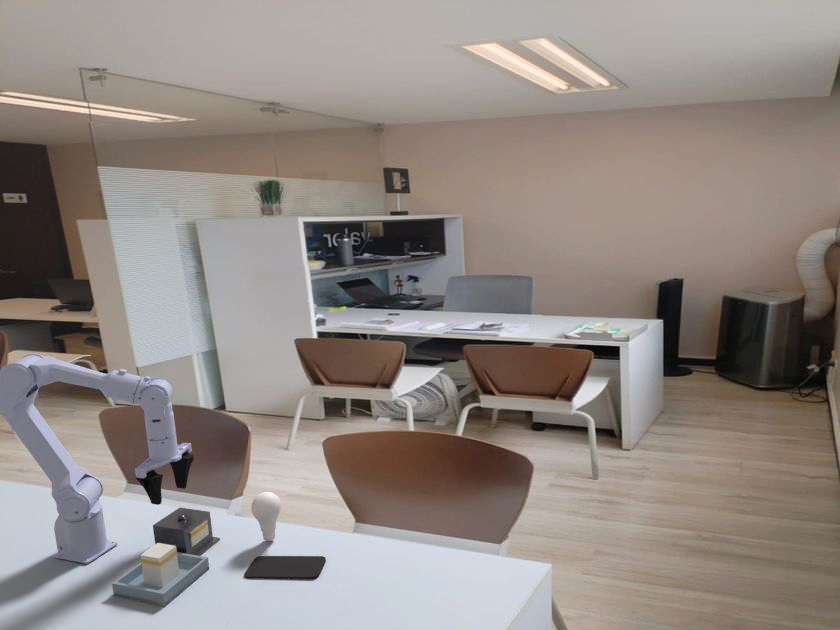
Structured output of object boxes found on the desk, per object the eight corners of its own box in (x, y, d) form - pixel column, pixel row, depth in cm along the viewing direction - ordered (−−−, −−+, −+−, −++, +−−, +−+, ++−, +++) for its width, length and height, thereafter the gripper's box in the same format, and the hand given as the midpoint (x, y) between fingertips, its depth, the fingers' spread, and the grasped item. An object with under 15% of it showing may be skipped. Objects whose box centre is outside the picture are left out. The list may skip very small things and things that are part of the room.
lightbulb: (276, 549, 128) (272, 500, 126) (250, 547, 129) (244, 499, 128) (288, 534, 134) (284, 487, 132) (263, 532, 135) (258, 486, 133)
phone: (256, 555, 126) (327, 555, 124) (256, 559, 126) (327, 559, 124) (241, 576, 118) (317, 577, 117) (242, 580, 119) (317, 581, 117)
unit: (149, 558, 127) (144, 524, 126) (183, 533, 137) (179, 502, 135) (188, 565, 124) (184, 530, 123) (220, 540, 133) (216, 507, 132)
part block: (143, 583, 117) (139, 555, 116) (161, 570, 122) (157, 542, 121) (163, 587, 116) (159, 558, 115) (180, 573, 120) (176, 545, 119)
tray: (113, 595, 115) (111, 583, 115) (160, 560, 126) (159, 548, 126) (165, 606, 111) (163, 594, 111) (209, 568, 122) (208, 557, 122)
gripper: (151, 450, 122) (159, 513, 124) (199, 425, 136) (206, 482, 138) (123, 447, 125) (132, 509, 127) (174, 423, 138) (181, 479, 140)
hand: (169, 495), depth 133 cm, fingers open, 7 cm apart
